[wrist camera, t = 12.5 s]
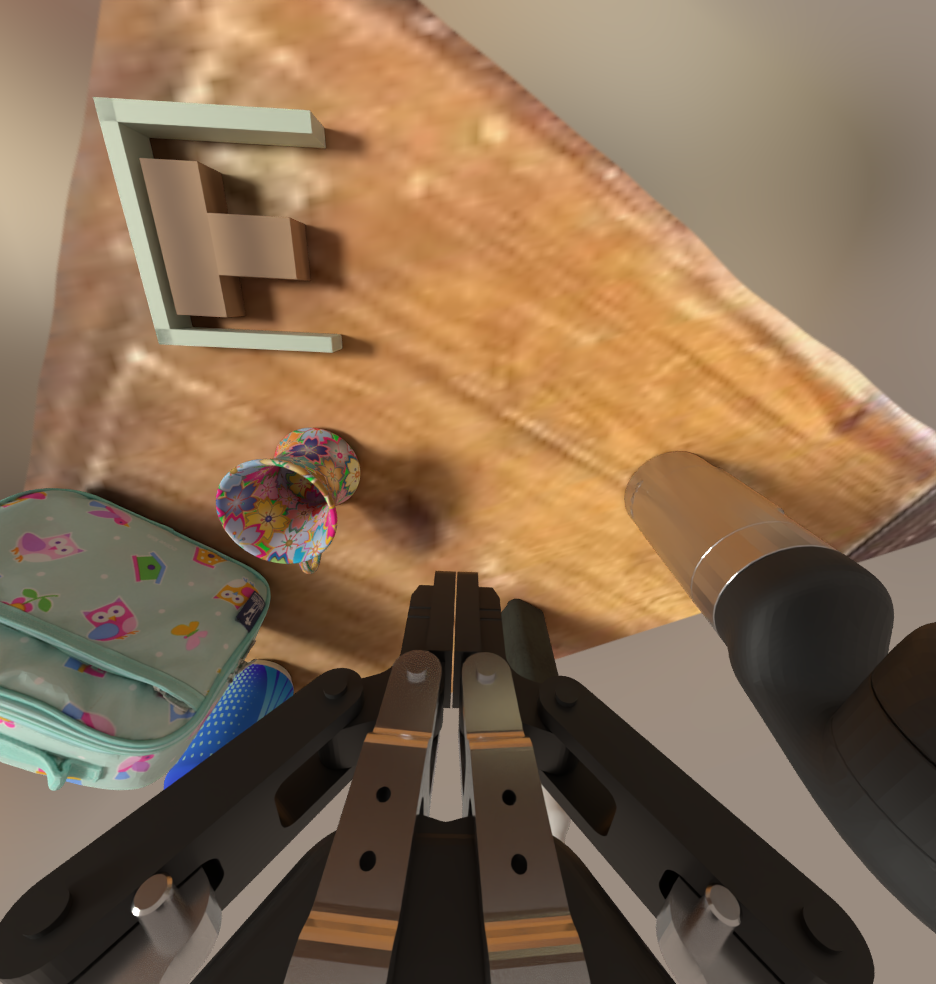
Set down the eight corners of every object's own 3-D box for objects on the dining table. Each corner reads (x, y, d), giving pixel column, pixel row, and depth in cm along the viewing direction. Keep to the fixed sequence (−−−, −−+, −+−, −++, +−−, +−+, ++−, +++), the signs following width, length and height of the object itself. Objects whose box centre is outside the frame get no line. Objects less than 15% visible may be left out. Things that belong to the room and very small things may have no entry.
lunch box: (303, 581, 48) (191, 774, 28) (269, 635, 51) (149, 839, 32) (59, 463, 41) (-304, 609, 22) (41, 535, 45) (-284, 714, 25)
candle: (513, 595, 48) (553, 854, 26) (547, 613, 50) (614, 874, 27) (489, 623, 50) (508, 886, 28) (523, 639, 51) (567, 904, 29)
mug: (261, 426, 39) (195, 466, 30) (355, 416, 39) (318, 454, 29) (297, 531, 45) (250, 594, 35) (380, 523, 44) (355, 585, 35)
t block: (299, 177, 31) (283, 166, 28) (315, 319, 35) (301, 321, 32) (168, 170, 31) (139, 157, 28) (199, 313, 35) (176, 314, 32)
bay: (324, 127, 30) (309, 110, 27) (342, 348, 36) (332, 352, 34) (127, 115, 29) (92, 97, 27) (182, 340, 36) (159, 344, 33)
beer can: (258, 705, 57) (188, 844, 42) (220, 666, 53) (129, 802, 39) (309, 689, 55) (254, 826, 41) (273, 647, 52) (199, 781, 38)
